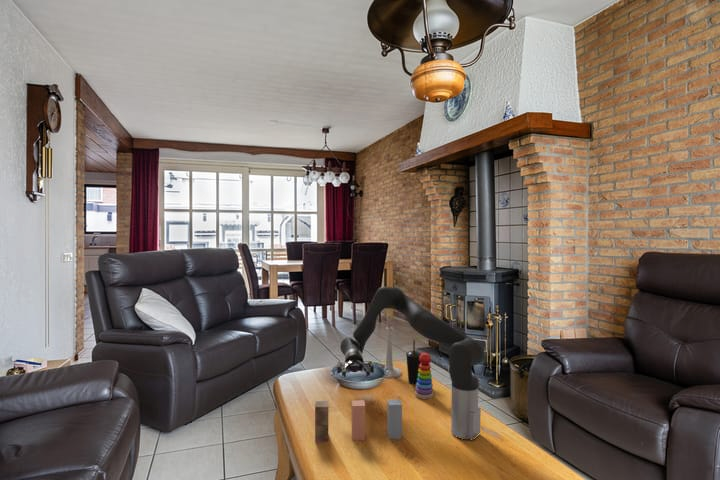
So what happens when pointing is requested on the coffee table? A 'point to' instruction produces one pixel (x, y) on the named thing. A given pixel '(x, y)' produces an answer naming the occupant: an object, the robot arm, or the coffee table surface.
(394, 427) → the pillar slate
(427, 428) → the coffee table surface
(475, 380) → the robot arm
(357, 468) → the coffee table surface
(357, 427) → the pillar terracotta
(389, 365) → the candlestick
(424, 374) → the stacking toy
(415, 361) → the drinking cup
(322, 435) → the pillar walnut
